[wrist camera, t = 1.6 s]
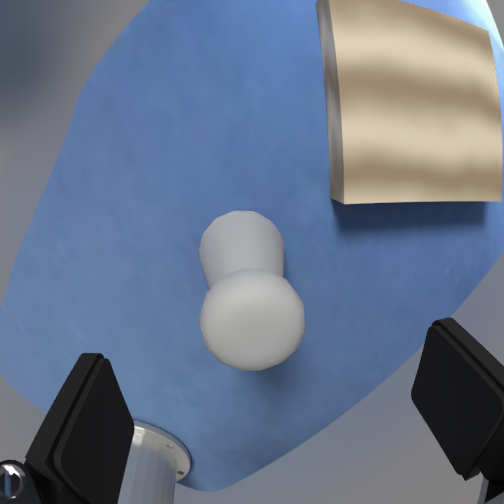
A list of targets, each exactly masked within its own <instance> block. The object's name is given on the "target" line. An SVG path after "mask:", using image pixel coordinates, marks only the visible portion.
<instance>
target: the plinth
mask: <svg viewBox="0 0 504 504" xmlns="http://www.w3.org/2000/svg"><path fill="white" fill-rule="evenodd" d="M316 9H317V16H318V24H319V32H320V41H321V50H322V59H323V69H324V80H325V92H326V106H327V121H328V138H329V161H330V198H332V199H334V200H336V201H338V202H341V203H343V204H361V203H389V202H432V201H501V195H502V126H501V111H500V100H499V91H498V83H497V76H496V69H495V63H494V57H493V52H492V47H491V42H490V37H489V33H488V31H486V30H484V29H482V28H480V27H477V26H475V25H472V24H470V23H467V22H465V21H462V20H460V19H457V18H454V17H451V16H449V15H446V14H443V13H440V12H437V11H434V10H431V9H427V8H424V7H421V6H417V5H414V4H410V3H407V2H403V1H399V0H317V2H316Z"/></svg>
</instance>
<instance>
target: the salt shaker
mask: <svg viewBox="0 0 504 504" xmlns="http://www.w3.org/2000/svg"><path fill="white" fill-rule="evenodd" d="M198 252H199V256H200V261H201V265H202V269H203V272H204V275H205V278H206V280H207V283H208V286H209V289H210V290H209V291H208V292H207V293H206V296H205V300H204V304H203V307H202V311H201V315H200V319H199V323H200V327H201V331H202V334H203V338H204V341H205V345H206V348H207V349H208V350H209V351H210V352H211V353H212V354H213V355H214V356H215V358H216V359H217V360H218V361H219V362H220V363H223V364H225V365H228V366H230V367H233V368H236V369H238V370H264V369H267V368H270V367H272V366H275V365H277V364H280V363H282V362H283V361H285V360H286V359H287V358H288V357H289V356H290V355H291V354H292V353H294V352H295V351H296V350H297V349H298V347H299V345H300V342H301V340H302V337H303V335H304V332H305V320H304V309H303V302H302V300H301V299H300V297H299V296H298V295H297V293H296V292H295V291H294V289H293V288H292V287H291V285H290V284H289V282H288V281H287V280H286V279H284V278H283V274H284V257H285V254H284V245H283V236H282V235H281V234H280V232H279V231H278V230H277V228H276V227H275V225H274V224H273V223H272V221H270V220H268V219H267V218H265V217H263V216H262V215H260V214H258V213H256V212H255V211H233V212H230V213H228V214H225V215H223V216H220V217H218V218H216V219H215V220H214V221H213V222H212V224H211V225H210V226H209V227H208V228H207V229H206V231H205V232H204V233H203V236H202V240H201V243H200V247H199V251H198Z"/></svg>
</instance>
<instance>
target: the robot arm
mask: <svg viewBox="0 0 504 504" xmlns="http://www.w3.org/2000/svg"><path fill="white" fill-rule="evenodd" d="M411 398H412V401H413V403H414V404H415V406H416V407H417V409H418V411H419V412H420V414H421V415H422V417H423V419H424V420H425V422H426V423H427V425H428V426H429V428H430V430H431V431H432V433H433V435H434V436H435V438H436V440H437V441H438V443H439V444H440V446H441V448H442V449H443V451H444V453H445V454H446V456H447V458H448V459H449V461H450V463H451V465H452V466H453V468H454V470H455V471H456V472H457V474H459V475H462V476H463V478H464V480H465V481H466V480H468V479H470V478H472V477H474V476H476V475H478V474H479V473H480V471H481V473H482V474H483V481H482V486H481V491H480V495H479V499H478V503H477V504H504V366H503V365H502V364H501V363H500V362H499V361H497V359H496V358H495V357H494V356H493V355H491V353H489V352H488V351H487V350H486V349H485V348H484V347H483V346H482V345H481V344H480V343H479V342H478V341H477V340H476V339H475V338H473V336H471V335H470V334H469V333H468V332H467V331H466V330H465V329H464V328H463V327H462V326H461V325H459V324H458V323H457V322H456V321H455V320H454V319H453V318H445V319H440V320H436V321H434V322H433V323H432V326H431V327H429V329H428V332H427V336H426V340H425V344H424V348H423V352H422V356H421V360H420V364H419V367H418V371H417V374H416V377H415V381H414V384H413V387H412V391H411ZM25 458H26V461H25V463H24V464H22V463H21V462H19V461H16V460H4V461H1V462H0V504H173V500H174V489H175V482H177V481H179V480H181V479H182V478H184V477H185V476H186V475H187V473H188V472H189V469H190V455H189V452H188V451H187V449H186V448H185V446H184V445H183V444H182V443H181V442H180V441H179V440H177V439H176V438H175V437H173V436H172V435H171V434H169V433H167V432H165V431H163V430H162V429H159V428H157V427H155V426H152V425H149V424H146V423H143V422H140V421H135V420H133V419H132V417H131V415H130V412H129V410H128V407H127V405H126V403H125V400H124V398H123V395H122V393H121V390H120V388H119V385H118V382H117V380H116V377H115V374H114V372H113V369H112V366H111V363H110V361H109V360H108V359H105V358H104V356H103V355H102V354H100V353H83V354H81V355H80V357H79V359H78V360H77V362H76V364H75V365H74V367H73V369H72V370H71V372H70V374H69V376H68V377H67V379H66V381H65V383H64V384H63V386H62V388H61V390H60V391H59V393H58V395H57V397H56V399H55V400H54V402H53V404H52V406H51V408H50V410H49V411H48V413H47V415H46V417H45V419H44V421H43V423H42V425H41V427H40V429H39V430H38V432H37V435H36V436H35V438H34V440H33V442H32V444H31V446H30V448H29V451H28V453H27V454H26V457H25Z"/></svg>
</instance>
